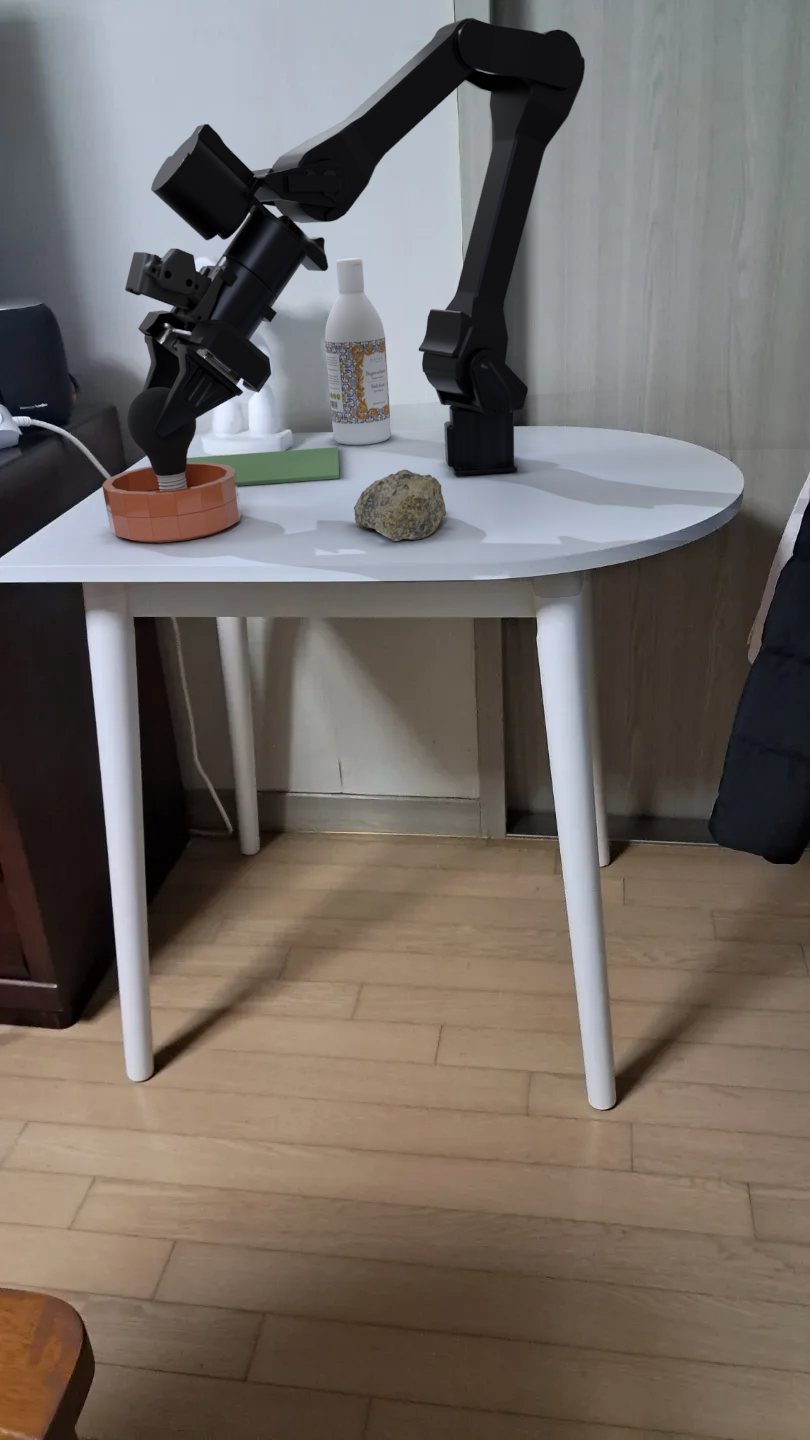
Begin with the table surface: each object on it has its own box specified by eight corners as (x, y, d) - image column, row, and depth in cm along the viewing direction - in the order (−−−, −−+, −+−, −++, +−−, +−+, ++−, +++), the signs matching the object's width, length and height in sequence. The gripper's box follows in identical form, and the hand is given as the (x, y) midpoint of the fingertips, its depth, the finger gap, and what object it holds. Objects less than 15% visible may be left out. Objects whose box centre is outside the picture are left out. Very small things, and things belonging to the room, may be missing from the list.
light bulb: (177, 513, 90) (156, 394, 85) (129, 507, 93) (106, 392, 88) (221, 496, 94) (204, 382, 89) (174, 491, 97) (155, 380, 92)
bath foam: (360, 448, 120) (346, 260, 111) (322, 442, 124) (305, 261, 116) (403, 437, 124) (392, 256, 115) (364, 431, 129) (351, 256, 120)
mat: (338, 450, 120) (337, 446, 120) (339, 478, 107) (339, 474, 107) (165, 462, 119) (165, 459, 119) (146, 492, 107) (145, 488, 106)
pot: (245, 505, 100) (239, 458, 98) (235, 539, 89) (228, 488, 87) (124, 514, 99) (116, 467, 97) (101, 549, 89) (91, 498, 87)
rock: (468, 531, 87) (466, 478, 85) (383, 547, 85) (379, 492, 83) (431, 512, 93) (429, 462, 91) (351, 527, 91) (347, 475, 89)
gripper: (142, 213, 92) (44, 359, 92) (211, 207, 77) (94, 381, 77) (237, 299, 98) (146, 434, 99) (318, 309, 84) (210, 468, 84)
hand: (147, 429), depth 90 cm, fingers closed on light bulb, 6 cm apart
